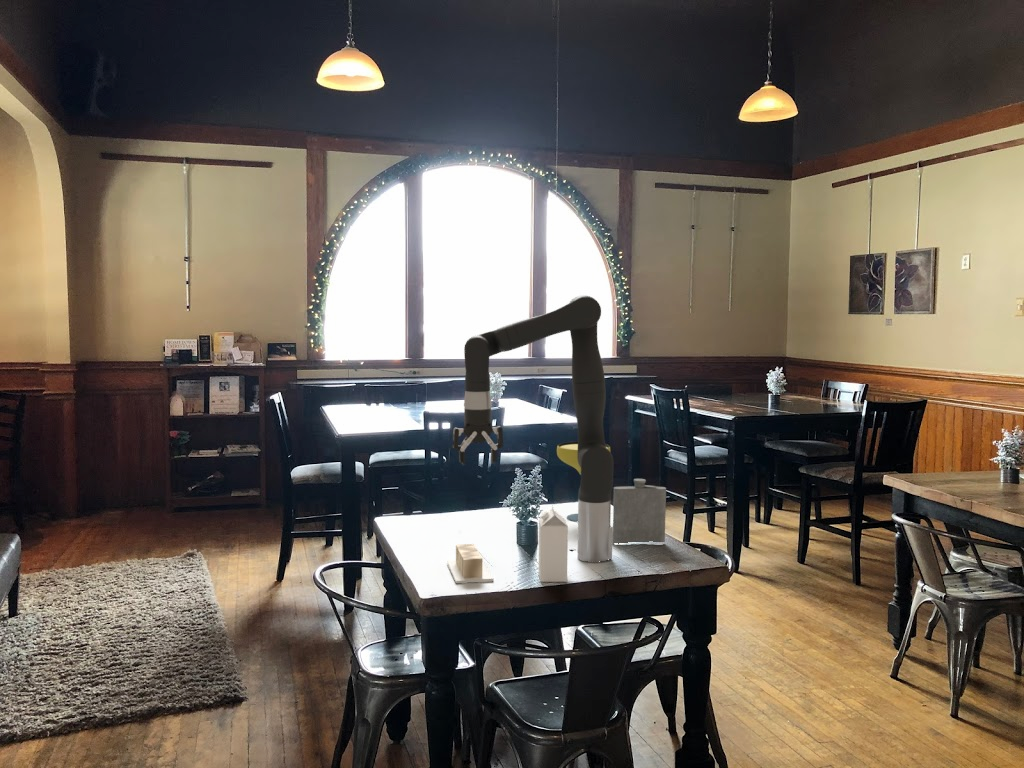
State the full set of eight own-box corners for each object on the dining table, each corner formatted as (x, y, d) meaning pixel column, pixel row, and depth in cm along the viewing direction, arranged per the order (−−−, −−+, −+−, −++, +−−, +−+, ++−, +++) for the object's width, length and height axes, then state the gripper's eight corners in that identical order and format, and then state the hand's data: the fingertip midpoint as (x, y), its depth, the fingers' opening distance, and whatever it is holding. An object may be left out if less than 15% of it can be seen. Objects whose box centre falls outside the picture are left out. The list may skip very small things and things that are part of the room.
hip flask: (613, 545, 258) (614, 480, 256) (611, 542, 262) (612, 478, 260) (665, 545, 258) (667, 480, 256) (662, 542, 262) (664, 478, 261)
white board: (482, 562, 240) (482, 559, 240) (493, 581, 224) (493, 578, 224) (447, 564, 238) (447, 561, 238) (455, 583, 222) (455, 580, 221)
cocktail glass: (545, 516, 292) (546, 444, 290) (584, 509, 303) (585, 439, 301) (580, 527, 278) (581, 452, 276) (620, 519, 289) (621, 447, 286)
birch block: (473, 543, 238) (482, 558, 224) (473, 561, 238) (482, 577, 225) (455, 544, 237) (463, 559, 223) (455, 562, 237) (463, 578, 224)
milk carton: (564, 573, 231) (565, 505, 229) (567, 582, 223) (568, 511, 222) (538, 574, 230) (539, 505, 228) (540, 582, 223) (541, 511, 221)
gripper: (454, 409, 235) (455, 467, 236) (505, 407, 238) (505, 464, 239) (450, 406, 242) (451, 462, 243) (499, 404, 245) (499, 460, 247)
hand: (478, 463), depth 241 cm, fingers open, 8 cm apart
